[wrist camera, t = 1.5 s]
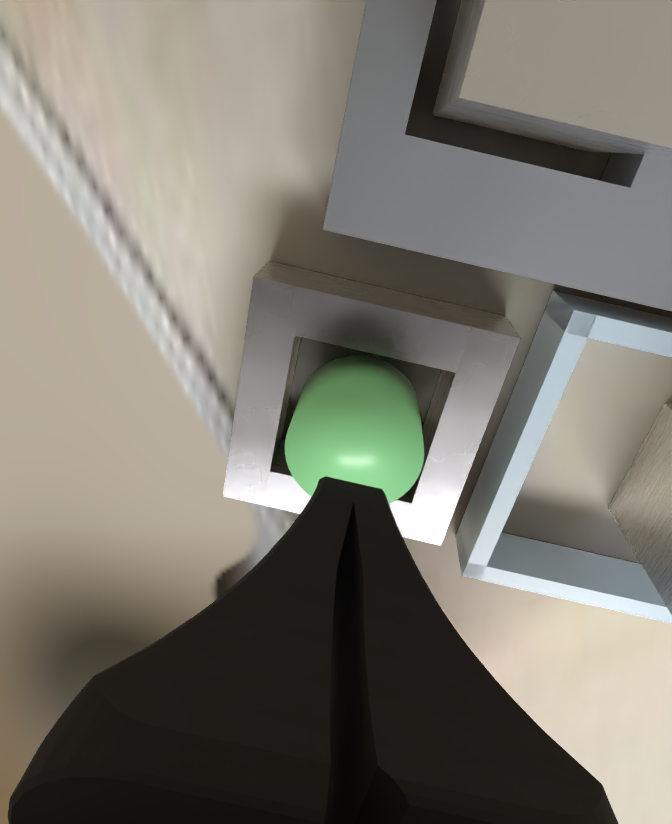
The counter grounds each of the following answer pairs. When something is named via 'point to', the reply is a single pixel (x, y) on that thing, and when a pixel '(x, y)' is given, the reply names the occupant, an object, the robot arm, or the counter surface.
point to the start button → (357, 427)
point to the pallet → (489, 186)
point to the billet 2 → (650, 505)
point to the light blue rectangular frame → (515, 451)
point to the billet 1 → (564, 72)
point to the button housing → (379, 334)
